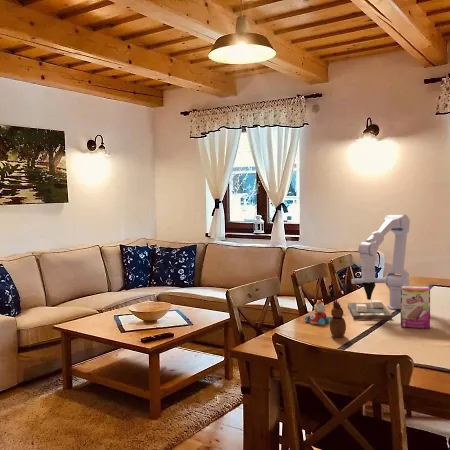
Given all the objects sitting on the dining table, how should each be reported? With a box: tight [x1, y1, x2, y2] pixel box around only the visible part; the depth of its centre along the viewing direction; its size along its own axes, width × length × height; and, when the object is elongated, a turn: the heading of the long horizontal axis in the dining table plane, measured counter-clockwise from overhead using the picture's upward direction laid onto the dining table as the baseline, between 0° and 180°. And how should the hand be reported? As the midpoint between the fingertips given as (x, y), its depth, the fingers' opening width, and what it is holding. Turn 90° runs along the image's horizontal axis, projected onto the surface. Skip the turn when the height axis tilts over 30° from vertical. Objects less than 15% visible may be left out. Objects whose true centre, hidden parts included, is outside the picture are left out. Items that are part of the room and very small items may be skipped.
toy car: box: [304, 299, 332, 326], centre depth 210 cm, size 9×9×10 cm
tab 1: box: [356, 304, 367, 312], centre depth 218 cm, size 4×4×2 cm
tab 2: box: [370, 299, 383, 308], centre depth 224 cm, size 4×4×2 cm
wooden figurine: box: [329, 296, 347, 338], centre depth 189 cm, size 7×6×15 cm
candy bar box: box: [400, 285, 431, 330], centre depth 197 cm, size 11×5×16 cm, turn 71°
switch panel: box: [347, 302, 393, 321], centre depth 222 cm, size 16×24×2 cm, turn 172°
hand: (368, 299), depth 217 cm, fingers closed
